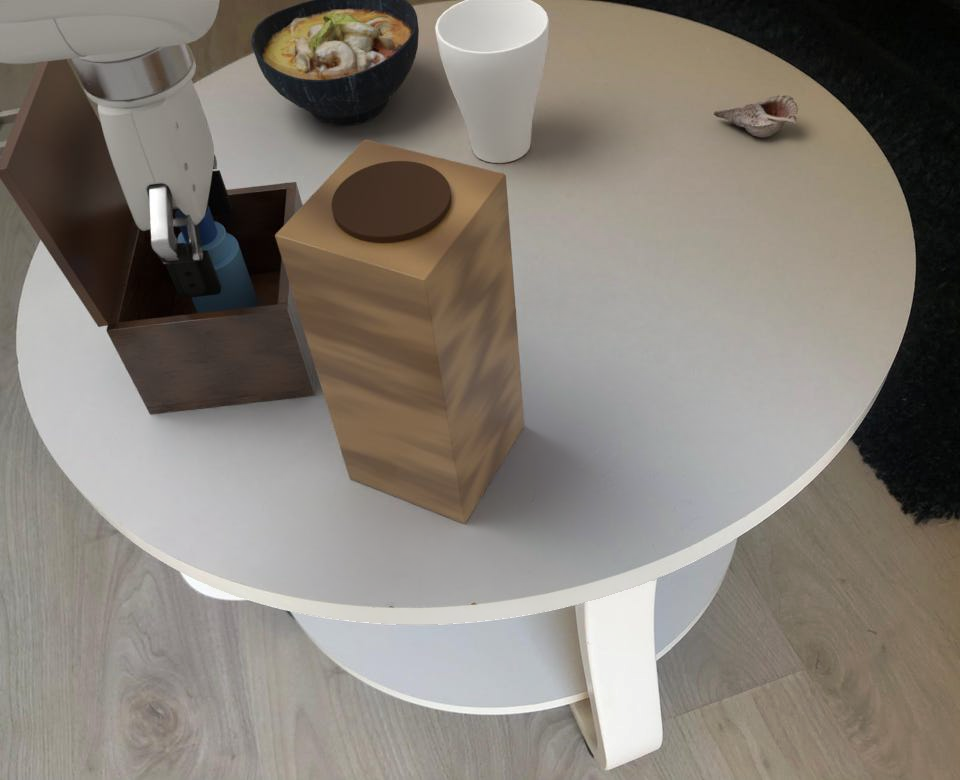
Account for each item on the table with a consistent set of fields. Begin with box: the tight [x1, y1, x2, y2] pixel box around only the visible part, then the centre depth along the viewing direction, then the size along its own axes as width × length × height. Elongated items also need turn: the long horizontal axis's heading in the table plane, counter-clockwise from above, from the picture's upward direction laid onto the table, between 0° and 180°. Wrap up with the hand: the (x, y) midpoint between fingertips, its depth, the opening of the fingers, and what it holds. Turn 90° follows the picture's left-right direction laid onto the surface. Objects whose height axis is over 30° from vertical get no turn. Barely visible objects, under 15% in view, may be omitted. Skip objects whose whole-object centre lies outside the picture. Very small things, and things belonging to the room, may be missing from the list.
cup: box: [434, 0, 550, 164], centre depth 96 cm, size 10×10×14 cm
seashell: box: [713, 94, 799, 138], centre depth 98 cm, size 4×8×4 cm
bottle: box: [175, 205, 260, 313], centre depth 81 cm, size 5×5×13 cm
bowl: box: [250, 0, 420, 127], centre depth 105 cm, size 17×17×10 cm
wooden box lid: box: [0, 59, 134, 328], centre depth 73 cm, size 14×16×5 cm
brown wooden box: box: [105, 181, 316, 415], centre depth 83 cm, size 14×16×10 cm
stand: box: [275, 138, 525, 525], centre depth 67 cm, size 10×10×24 cm
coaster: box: [332, 161, 452, 243], centre depth 58 cm, size 7×7×1 cm
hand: (207, 252), depth 79 cm, fingers open, 9 cm apart
